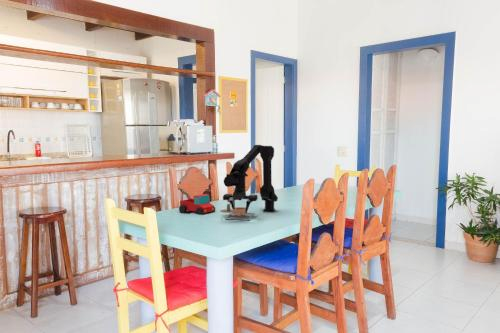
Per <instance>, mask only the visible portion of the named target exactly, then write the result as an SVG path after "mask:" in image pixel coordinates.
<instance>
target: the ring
mask: <svg viewBox="0 0 500 333" xmlns="http://www.w3.org/2000/svg"><path fill="white" fill-rule="evenodd" d="M232 210H233V214H232V215H234V216H236V217H237V216H238V217H241V216H245V215H247V214H246V206H245V207H244V206H235V208H234V209H232Z"/></svg>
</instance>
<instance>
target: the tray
mask: <svg viewBox="0 0 500 333" xmlns="http://www.w3.org/2000/svg"><path fill="white" fill-rule="evenodd" d="M231 215H233V212H231V213H228V214H227V215H226V216H225V221H237V222H239V221H240V222H250V221H251V219H252V218H253V217H254V215H255V213H254V212H253V213H252V212H247V213H246V214H245V215H250V216H249V217H239V216H238V217H237V216H234V217H233V216H231Z"/></svg>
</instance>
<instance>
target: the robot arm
mask: <svg viewBox="0 0 500 333" xmlns="http://www.w3.org/2000/svg"><path fill="white" fill-rule="evenodd" d="M258 155H260V158H261V160H262V177H263V179H262V182H263V184H262V186H261V187H259V194H260V198H261V201H264V209H263V212H270V213H271V212H272V213H273V212H275V211H276V208H275V202H277V201H278V199H279V197H278V195H277V194H276V193H275V188H274V186H273V185H272V160H273V158H274V156H275V148H274V146H272V145H262V144H254V145H253V146H252V148H251V149H250V150H249V151H248V152H247V154H246V155H244V156H243V157H242V158H241V159H239V160H237V161H236V162H234V163H233V166H232V167H231V170H230V172H229V173H227V174H225V175H226V176H225V177H224V179H223V184H224V186H225V187H227V188H229V187H234V191H233V192H232V193H225V194H223V196H222V200H223V201H227V202H228V203H229V204H230V207H231V209H232V210H233V209H234V208H235V207H236V203H235V201H241V200H246V205H245V207H246V213H248V211H249V208H250V205H251V203H253V202H257V201H258V195H257V194H249V195H247V193H246V177H248V176H249V175H248V174H247V172H248V169H249V168H250V164H251V163H252V162H253V161H254V160H255V159H256V158H257V156H258Z"/></svg>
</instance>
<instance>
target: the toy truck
mask: <svg viewBox="0 0 500 333" xmlns="http://www.w3.org/2000/svg"><path fill="white" fill-rule="evenodd" d="M178 211H179V213H180V212H181V213H180V214H185V213H187V211H190V212H195V214H196V215H199V216H201V215H202V216H203V215H204V214H206V213H214V212H216V207H215V205H214V204H213V203H211V199H210V194H206V193H202V194H197V195H193V198H188V199H182V200H180V202H179V208H178Z"/></svg>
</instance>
